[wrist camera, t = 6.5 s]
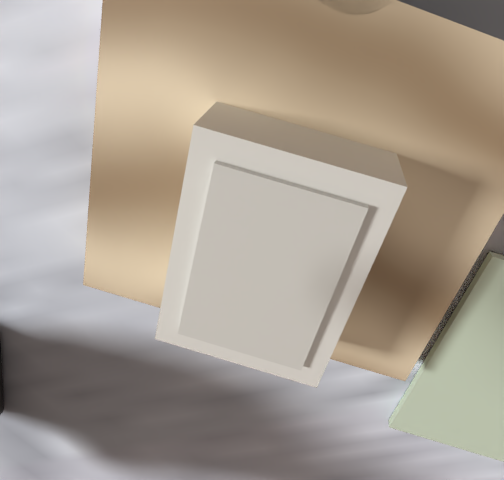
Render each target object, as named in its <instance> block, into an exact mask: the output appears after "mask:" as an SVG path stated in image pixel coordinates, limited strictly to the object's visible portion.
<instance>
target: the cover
mask: <svg viewBox="0 0 504 480" xmlns="http://www.w3.org/2000/svg"><path fill="white" fill-rule="evenodd" d="M406 190H407V184H406V181H405V178H404V175H403V171H402V168H401V165H400V162H399V159H398V156H397V153H393V152H390V151H386V150H383V149H379V148H376V147H372V146H369V145H366V144H362V143H359V142H355V141H352V140H348V139H345V138H341V137H338V136H335V135H331V134H328V133H324V132H321V131H317V130H314V129H310V128H307V127H303V126H300V125H297V124H293V123H290V122H286V121H283V120H279V119H276V118H272V117H269V116H265V115H262V114H259V113H255V112H252V111H248V110H245V109H241V108H238V107H234V106H231V105H227V104H224V103H221V102H216V103H215V104H214V105H213V106H212V107H211V108H210V109H209V110H208V111H207V112H206V113H205V114H204V115H203V116H202V117H201V118H200V119H199V120H198V121H197V122H196V123H195V124H194V125H193V130H192V136H191V141H190V147H189V152H188V158H187V164H186V169H185V175H184V180H183V186H182V191H181V197H180V202H179V208H178V213H177V219H176V225H175V230H174V236H173V241H172V247H171V252H170V258H169V263H168V269H167V274H166V280H165V286H164V291H163V297H162V302H161V308H160V313H159V319H158V324H157V330H156V335H155V339H156V340H160V341H163V342H166V343H170V344H173V345H176V346H180V347H183V348H186V349H190V350H193V351H196V352H200V353H203V354H206V355H210V356H213V357H216V358H220V359H223V360H226V361H230V362H233V363H236V364H239V365H243V366H246V367H249V368H253V369H256V370H259V371H263V372H266V373H269V374H273V375H276V376H279V377H283V378H286V379H289V380H293V381H296V382H299V383H303V384H306V385H309V386H313V387H316V388H317V386H318V384H319V382H320V380H321V377H322V375H323V373H324V371H325V369H326V366H327V364H328V362H329V360H330V358H331V355H332V353H333V351H334V349H335V347H336V344H337V342H338V340H339V338H340V335H341V333H342V331H343V329H344V327H345V324H346V322H347V320H348V318H349V316H350V313H351V311H352V309H353V307H354V305H355V302H356V300H357V298H358V296H359V293H360V291H361V289H362V287H363V285H364V282H365V280H366V278H367V276H368V274H369V271H370V269H371V267H372V265H373V263H374V260H375V258H376V256H377V254H378V252H379V249H380V247H381V245H382V243H383V240H384V238H385V236H386V234H387V232H388V229H389V227H390V225H391V223H392V221H393V218H394V216H395V214H396V212H397V210H398V207H399V205H400V203H401V201H402V198H403V196H404V194H405V192H406Z"/></svg>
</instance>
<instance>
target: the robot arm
mask: <svg viewBox="0 0 504 480" xmlns="http://www.w3.org/2000/svg"><path fill="white" fill-rule="evenodd" d="M3 410H4V407H3V386H2V365H1V345H0V415H1V413H2V412H3Z"/></svg>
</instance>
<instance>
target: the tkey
mask: <svg viewBox="0 0 504 480" xmlns="http://www.w3.org/2000/svg"><path fill="white" fill-rule="evenodd" d="M398 1H400V2H403V3H406V4H408V5H411V6H413V7H416V8H419V9H421V10H424V11H427V12H429V13H432V14H435V15H437V16H440V17H443V18H445V19H448V20H450V21H453V22H456V23H458V24H461V25H464V26H466V27H469V28H472V29H474V30H477V31H480V32H482V33H485V34H487V35H490V36H493V37H495V38H498V39H501V40H503V41H504V0H398Z"/></svg>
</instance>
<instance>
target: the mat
mask: <svg viewBox="0 0 504 480" xmlns="http://www.w3.org/2000/svg"><path fill="white" fill-rule="evenodd" d="M388 421H389V427H390V428H393V429H397V430H400V431H403V432H407V433H410V434H413V435H417V436H420V437H423V438H427V439H430V440H433V441H437V442H440V443H443V444H446V445H450V446H453V447H456V448H460V449H463V450H466V451H470V452H473V453H476V454H480V455H483V456H486V457H490V458H493V459H496V460H500V461H503V462H504V255H501V254H497V253H494V252H490V251H489V253H488V255H487V256H486V258H485V260H484V261H483V263H482V265H481V266H480V268H479V270H478V271H477V273H476V275H475V277H474V278H473V280H472V282H471V283H470V285H469V287H468V288H467V290H466V292H465V293H464V295H463V297H462V298H461V300H460V302H459V303H458V305H457V307H456V308H455V310H454V312H453V313H452V315H451V317H450V318H449V320H448V322H447V323H446V325H445V327H444V328H443V330H442V332H441V333H440V335H439V337H438V338H437V340H436V342H435V343H434V345H433V347H432V348H431V350H430V352H429V353H428V355H427V357H426V358H425V360H424V362H423V363H422V365H421V367H420V369H419V370H418V372H417V374H416V375H415V377H414V379H413V380H412V382H411V384H410V385H409V387H408V389H407V390H406V392H405V394H404V395H403V397H402V399H401V400H400V402H399V404H398V405H397V407H396V409H395V410H394V412H393V414H392V415H391V417H390V419H389V420H388Z"/></svg>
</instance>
